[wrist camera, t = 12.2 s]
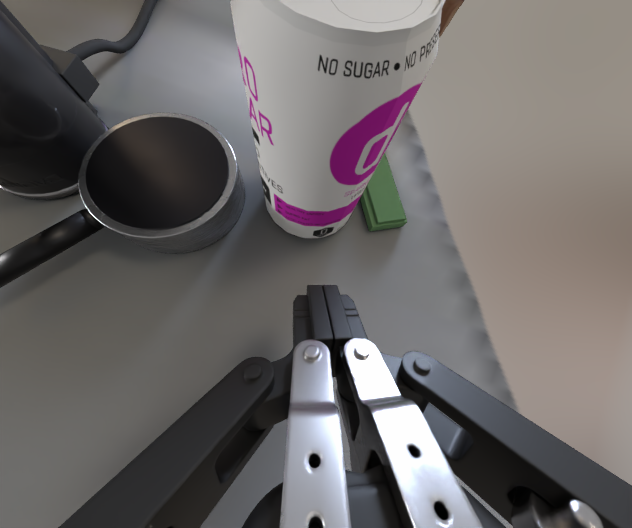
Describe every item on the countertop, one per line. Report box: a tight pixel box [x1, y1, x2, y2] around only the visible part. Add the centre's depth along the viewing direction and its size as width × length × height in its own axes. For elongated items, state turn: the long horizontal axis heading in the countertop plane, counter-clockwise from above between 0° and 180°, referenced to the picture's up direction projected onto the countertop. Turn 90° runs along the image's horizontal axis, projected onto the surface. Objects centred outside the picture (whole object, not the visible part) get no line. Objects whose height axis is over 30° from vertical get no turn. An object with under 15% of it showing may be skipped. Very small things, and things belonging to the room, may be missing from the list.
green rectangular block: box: [360, 153, 407, 231], centre depth 22 cm, size 8×4×1 cm, turn 12°
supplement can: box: [230, 0, 446, 238], centre depth 15 cm, size 8×8×15 cm
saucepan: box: [0, 113, 245, 288], centre depth 18 cm, size 19×11×4 cm, turn 132°
